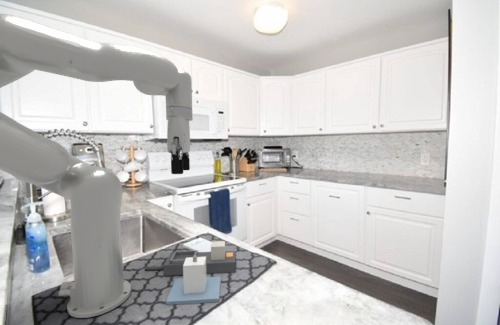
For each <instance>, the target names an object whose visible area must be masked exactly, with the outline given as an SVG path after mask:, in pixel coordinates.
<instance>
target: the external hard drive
mask: <svg viewBox="0 0 500 325" xmlns="http://www.w3.org/2000/svg"><path fill="white" fill-rule="evenodd" d="M212 242H213V241H211V240H208V239H205V238H203V237H198V238H196V239H192V240H190V241H187V242H184V243H183V244H182V247H183V248H185V249H187V250H188V251H190V250H197V252H211V244H212Z"/></svg>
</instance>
